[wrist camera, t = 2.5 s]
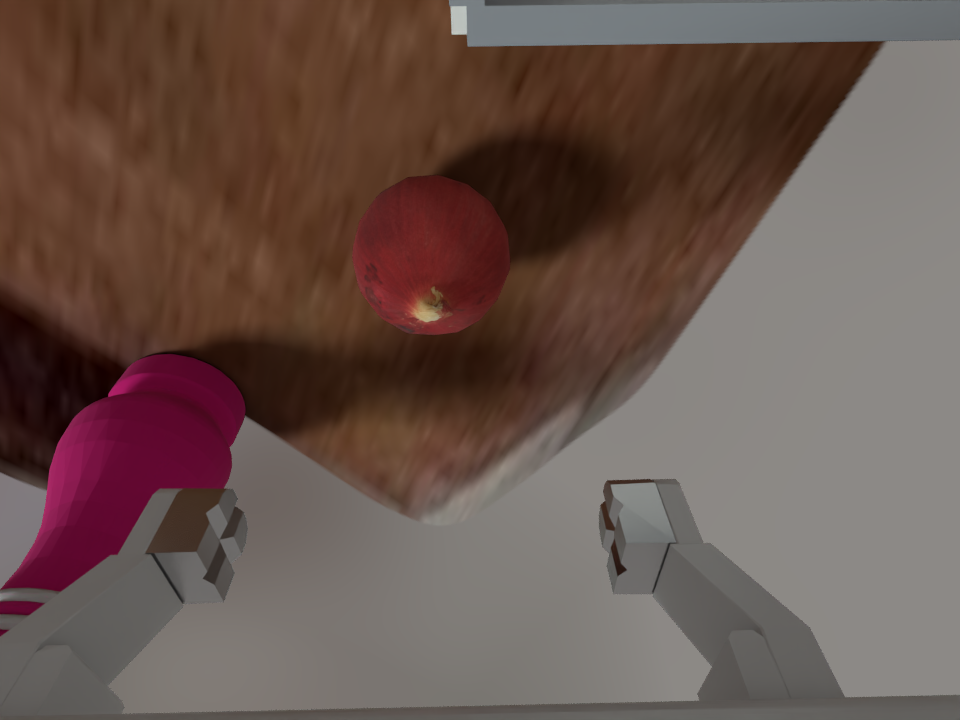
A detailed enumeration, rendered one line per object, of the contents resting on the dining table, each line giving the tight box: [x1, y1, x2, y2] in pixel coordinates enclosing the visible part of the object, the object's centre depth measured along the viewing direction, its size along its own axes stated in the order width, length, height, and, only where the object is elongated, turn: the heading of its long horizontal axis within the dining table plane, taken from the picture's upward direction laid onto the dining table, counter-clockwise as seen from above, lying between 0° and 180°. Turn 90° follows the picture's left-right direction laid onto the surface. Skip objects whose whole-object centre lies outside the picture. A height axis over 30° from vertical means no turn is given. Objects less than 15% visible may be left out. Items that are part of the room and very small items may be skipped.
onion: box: [352, 175, 510, 335], centre depth 20 cm, size 6×6×8 cm
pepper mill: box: [0, 354, 246, 637], centre depth 22 cm, size 7×7×20 cm
